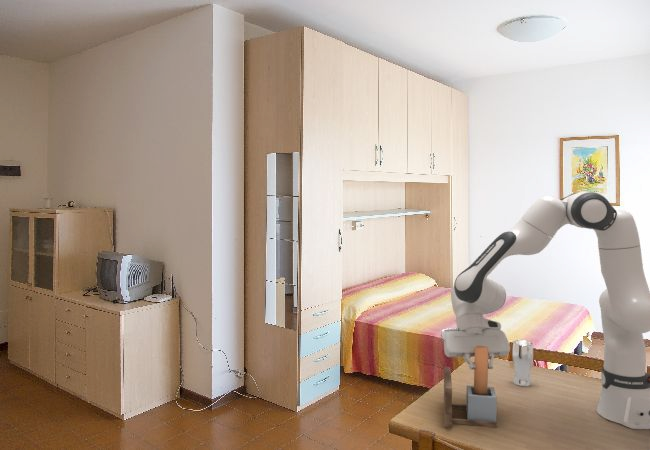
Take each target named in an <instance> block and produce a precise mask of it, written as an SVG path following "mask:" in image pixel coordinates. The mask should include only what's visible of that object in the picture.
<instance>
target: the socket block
mask: <svg viewBox="0 0 650 450" xmlns="http://www.w3.org/2000/svg"><path fill="white" fill-rule="evenodd" d="M465 395H466V396H465V397H466V399H465V400H466V401H465V402H466V409H465V410H466V418H467V419H466V420H478V421H489V422H497V415H498V414H497V411H498V410H497V407H498V406H497V405H498V404H497V403H498V401H497V400H498V399H497V398H498V397H497V395H496V391H495V387H493V386H488V388H487V394H486V395H478V394H475V393H474V385H468V384H466V394H465Z"/></svg>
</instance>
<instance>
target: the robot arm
mask: <svg viewBox="0 0 650 450" xmlns="http://www.w3.org/2000/svg"><path fill="white" fill-rule="evenodd" d="M568 224H569V225H571V226H575V227H577V228H579V229H580V228H581V229H589V230H593V231H594V233H595V234H596V238H597V246H598V247H597V248H598V255H599V263H600V265H599V266H600V271H601V275H602V277H603V280H604V283H605V287H606V289H605V290H603V291H602V292H601V293H600V295H599V297H598V298H599V300H598V302H599V308H600V316H601V317H600V318H601V328H602V334H603V344H604V348H603V366H602V368H601V376H600V377H601V378H600V382H601V392H600V398H599V400H598V405H597V407H596V413H597V414H598V415H599V416H601V417H602V418H604V419H606V420H609V421H612V422H614V423H618V424H620V425H623V426H625V427H627V428H630V429H632V430H650V374H649V373H648V372H647V371H646V368H647V367H646V366H647V365H646V361H647V347H646V343H645V341H644V336H643V334H646V333H649V332H650V288H649V284H648V282H647V279H646V276H645V272H644V266H643V265H644V264H643V257H642V249H641V243H640V235H639V231H638V228H637V223H636V220H635V218H634V216H633V214H631V213H630V212H629V211H626V210H623V209H616V208H614V206H613V205H612V204H611V202H610V201H609V200H608V199H607V198H606V197H605V196H604V195H602V194H600V193H598V192H592V191H579V192H574V193H571V194H568V195H567V196H565V197H563V198H561V199H559V198H558V197H556V196H552V195H542V196H540V197H539V198H538V199H537V200H536V201H535V202H534V203H533V204H532V205H531V206H530V207H529V208H527V210H526V212H524V214H523V215H522V216H521V217H520V219H519V221H518V222H517V223H516V224H515V225H514V226H513V227H511V228H510V229H509V230H508V231H505V232H502V233H501V234H499V235H498V236H497V237H496V238H495V239H494V240H493V241H492V242H491V243H490V244H489V245H488V246H487V247H486V248H485V249H484V251H483V252H481V254H480V255H479V256H478V257H476V259H475V260H474V261H473V262H472V263H471V264H470V265H469V266H468V267H467V268H465V269H464V270H463V271H461V272H460V273H459V274H458V275H457V276H456V278H455V279H454V283H453V287H451V290H450V291H451V292H450V298H451V299H450V301H451V306H452V310H453V311H452V312H453V313H454V315H455V323H456V327H454V328H453V327H452V328H444V329H443V330H441V332H440V334H441V339H442V340H443V351H444V355H445V356H446V357H448V358H463V360H464V361H465V363H466V364H467V365H468V367H469V370H474V369H475V368H476V365H475V362H474V361H472V359H471V358H472V357H474V358H475V347H476V346H485V347H488V370H493V369H494V364H493V362H494V359H495V357H507V356H508V354H509V353H510V351H511V344H510V342H509V340H508V337H507V334H506V333H505V332H504V331H503V330H502V324H501V323H500V322H499V321H495V320H491V319H488V318H486V317H484V315H487V314H490V313H491V314H492V313H494V312H496V311H499V310H500V309H502V308H503V306H504V305H505V303H506V300H507V293H506V289H505V288H504V287H503V285H501V284H499V283H498V282H495V281H493V280H492V279H489V278H487V277H488V276H489V275H491V273H492V272H493V271H494V270H495V268H497V266H498V265H499V264H501V262H502V261H503V260H505V259H506V258H508V257H511V256H518V255H520V256H532V255H537V254H540V253H541V252H543V250H545V248H546V247H547V246H548V245H549V244H550V242H551V241H552V239H554V237H555V235H556V233H558V231H559V230H560V229H561V228H563V227H564V226H565V225H568ZM470 357H471V358H470Z"/></svg>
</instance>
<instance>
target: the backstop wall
mask: <svg viewBox="0 0 650 450" xmlns="http://www.w3.org/2000/svg"><path fill="white" fill-rule="evenodd" d="M453 409H458V410H466V404H464V403H453V383H452V372H451V367H449V366H444V367H443V415H444V416H443V417H444V428H447V429H452V428H453V425H454V424H457V425H467V426H477V427H478V426H479V427H489V428H490V427H491V428H497V425H498V422H497V421H496V422H489V421H478V420H468V419H464V418H455V417H453Z"/></svg>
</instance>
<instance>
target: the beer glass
mask: <svg viewBox="0 0 650 450" xmlns="http://www.w3.org/2000/svg"><path fill="white" fill-rule="evenodd" d="M511 355H512V363H513V370H514V374H513V375H514V376H513V379H512V383H513V384H514V385H516V386H519V387H530V386H531V385H532V378H531V371H532V367H533V362H534V345H533V342H531V341H529V340H524V339H516V340H514V341H513V343H512V353H511Z"/></svg>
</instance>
